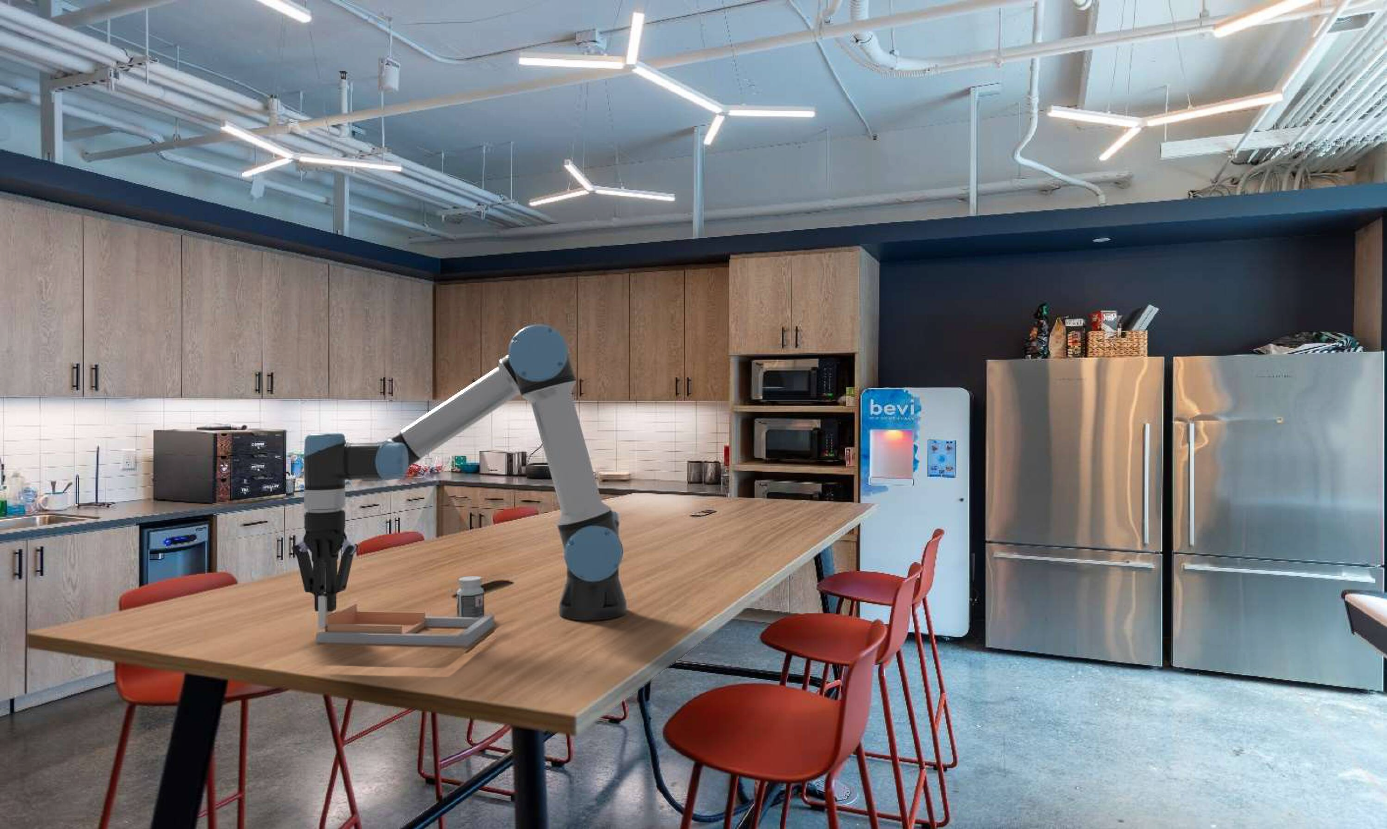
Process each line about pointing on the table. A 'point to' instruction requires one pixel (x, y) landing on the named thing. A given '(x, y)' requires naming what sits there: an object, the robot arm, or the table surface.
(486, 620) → the bay
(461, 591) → the pill bottle
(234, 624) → the table surface
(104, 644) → the table surface
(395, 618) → the crate
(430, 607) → the table surface
